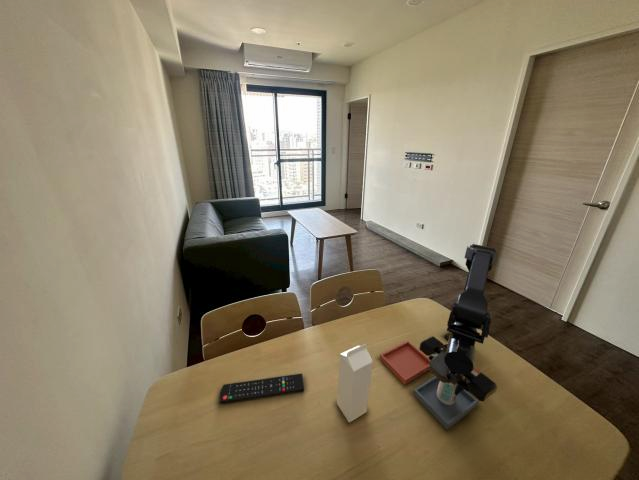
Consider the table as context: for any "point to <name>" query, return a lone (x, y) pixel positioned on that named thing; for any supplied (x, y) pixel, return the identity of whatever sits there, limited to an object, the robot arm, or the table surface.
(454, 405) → the grey tray
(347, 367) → the milk
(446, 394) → the pill bottle
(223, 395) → the remote control
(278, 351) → the table surface
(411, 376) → the red tray
